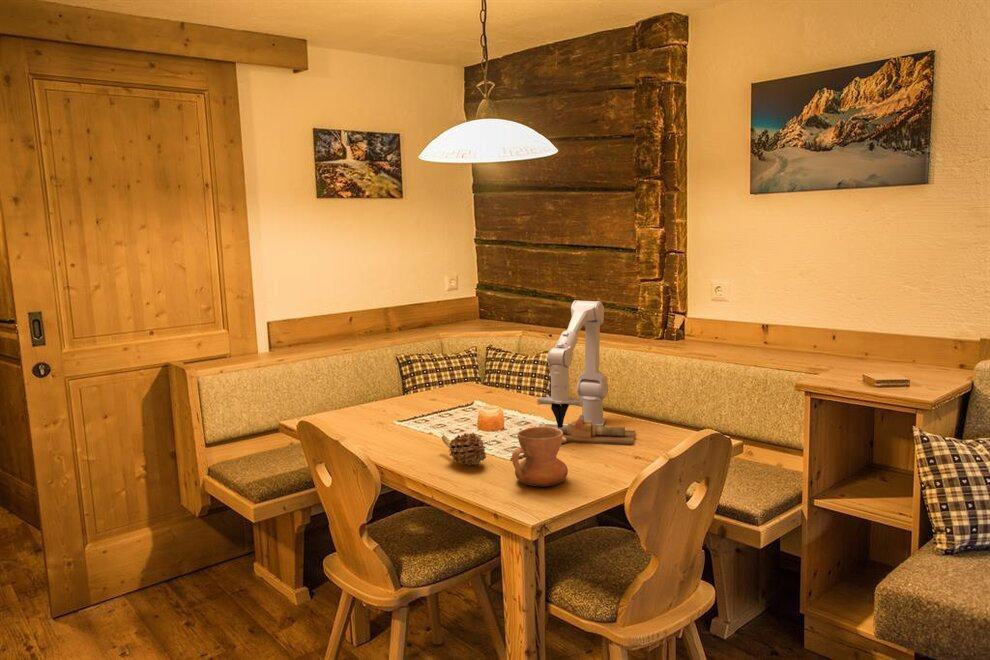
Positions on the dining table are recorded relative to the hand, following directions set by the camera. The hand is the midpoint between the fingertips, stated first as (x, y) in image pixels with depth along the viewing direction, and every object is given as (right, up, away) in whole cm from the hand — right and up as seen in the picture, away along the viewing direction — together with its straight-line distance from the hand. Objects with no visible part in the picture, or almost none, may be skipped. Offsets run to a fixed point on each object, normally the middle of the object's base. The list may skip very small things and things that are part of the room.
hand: (560, 426), depth 237 cm
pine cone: (-31, -9, -15) cm, 36 cm away
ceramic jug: (-9, -11, -34) cm, 36 cm away
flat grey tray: (+8, -4, +7) cm, 11 cm away
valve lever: (+7, 0, +2) cm, 7 cm away
